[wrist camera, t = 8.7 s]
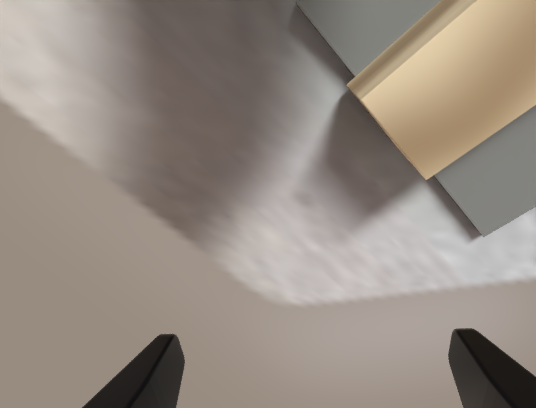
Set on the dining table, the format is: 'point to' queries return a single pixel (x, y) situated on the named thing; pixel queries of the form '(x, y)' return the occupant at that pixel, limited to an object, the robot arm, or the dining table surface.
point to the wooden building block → (453, 79)
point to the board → (471, 163)
